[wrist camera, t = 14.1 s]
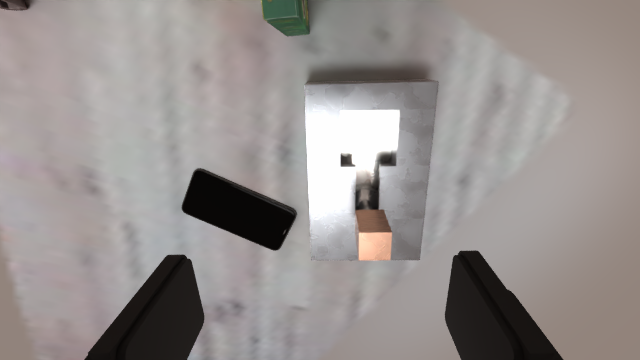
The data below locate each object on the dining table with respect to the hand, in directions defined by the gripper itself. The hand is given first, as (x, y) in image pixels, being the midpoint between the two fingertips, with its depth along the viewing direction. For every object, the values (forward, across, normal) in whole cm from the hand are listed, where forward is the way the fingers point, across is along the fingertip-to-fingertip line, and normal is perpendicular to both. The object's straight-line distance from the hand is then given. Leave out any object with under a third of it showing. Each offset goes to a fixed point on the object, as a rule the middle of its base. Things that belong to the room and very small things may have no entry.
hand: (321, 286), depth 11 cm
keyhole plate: (+30, -4, +7) cm, 31 cm away
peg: (+28, -4, +11) cm, 31 cm away
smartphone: (+30, +13, +12) cm, 35 cm away
